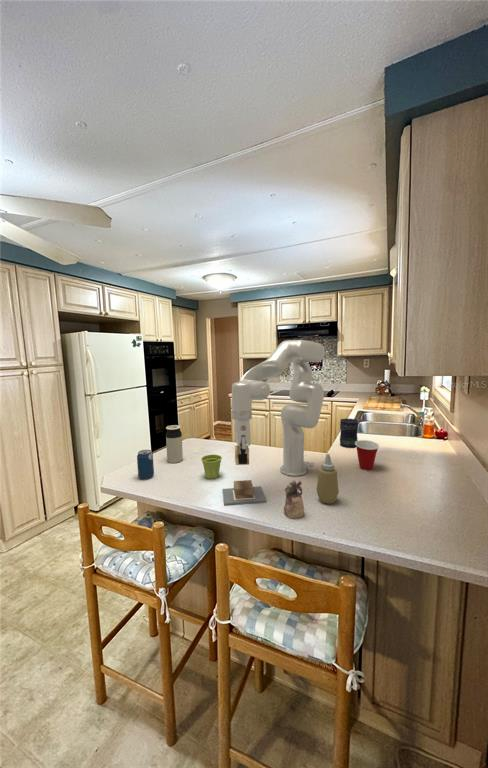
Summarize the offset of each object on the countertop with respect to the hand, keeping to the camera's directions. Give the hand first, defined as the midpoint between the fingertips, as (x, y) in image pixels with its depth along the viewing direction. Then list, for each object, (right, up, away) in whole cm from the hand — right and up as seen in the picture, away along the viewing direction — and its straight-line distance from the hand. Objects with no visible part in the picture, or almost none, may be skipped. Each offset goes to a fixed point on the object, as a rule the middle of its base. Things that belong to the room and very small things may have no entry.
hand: (241, 460), depth 119 cm
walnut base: (+1, -14, +2) cm, 14 cm away
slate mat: (+1, -15, +2) cm, 15 cm away
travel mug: (-35, -11, +42) cm, 56 cm away
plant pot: (-14, -13, +22) cm, 28 cm away
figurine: (+18, -16, -11) cm, 27 cm away
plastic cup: (+59, -11, +28) cm, 66 cm away
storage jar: (+62, -7, +61) cm, 87 cm away
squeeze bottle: (+32, -15, -2) cm, 36 cm away
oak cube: (0, -1, 0) cm, 1 cm away
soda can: (-44, -13, +22) cm, 51 cm away
